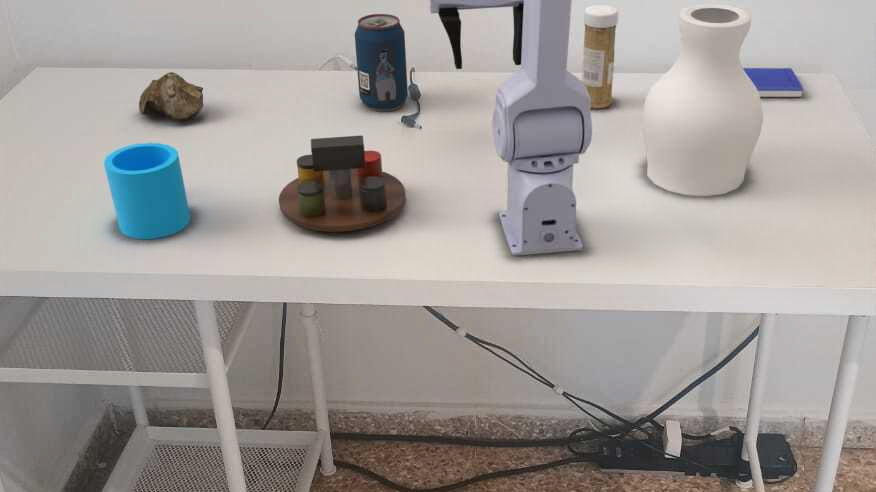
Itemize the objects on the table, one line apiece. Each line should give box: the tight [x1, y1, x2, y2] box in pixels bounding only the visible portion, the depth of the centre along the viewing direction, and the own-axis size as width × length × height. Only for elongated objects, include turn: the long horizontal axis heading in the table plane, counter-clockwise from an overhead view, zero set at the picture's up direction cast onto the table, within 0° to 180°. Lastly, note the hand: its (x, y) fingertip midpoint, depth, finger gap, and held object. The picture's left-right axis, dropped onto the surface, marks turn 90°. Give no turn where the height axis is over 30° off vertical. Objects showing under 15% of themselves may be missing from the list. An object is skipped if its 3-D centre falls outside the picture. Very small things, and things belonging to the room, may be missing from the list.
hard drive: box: [743, 67, 804, 98], centre depth 152 cm, size 2×8×12 cm
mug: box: [103, 142, 191, 240], centre depth 121 cm, size 12×8×8 cm
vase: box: [642, 3, 764, 197], centre depth 124 cm, size 14×14×20 cm
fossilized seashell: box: [138, 71, 204, 122], centre depth 146 cm, size 8×7×10 cm
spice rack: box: [278, 134, 407, 233], centre depth 121 cm, size 15×15×8 cm
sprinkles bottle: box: [581, 4, 619, 109], centre depth 144 cm, size 5×5×14 cm
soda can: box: [354, 13, 409, 112], centre depth 146 cm, size 7×7×12 cm
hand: (487, 64), depth 134 cm, fingers open, 7 cm apart
